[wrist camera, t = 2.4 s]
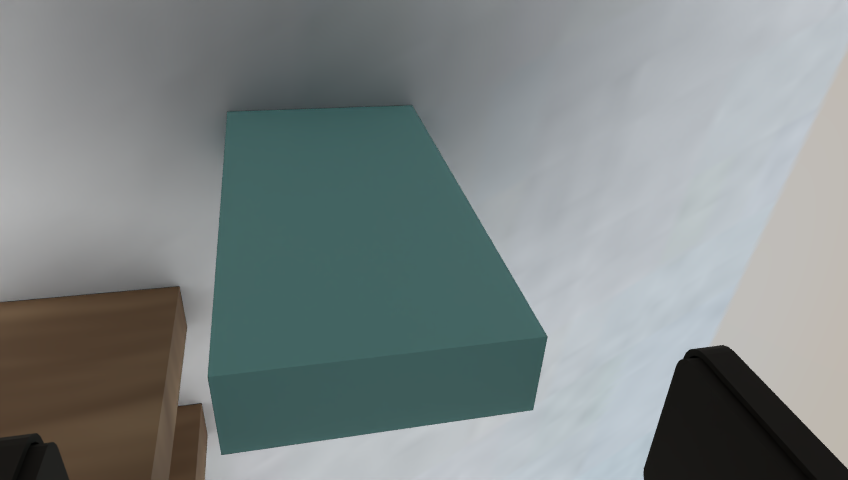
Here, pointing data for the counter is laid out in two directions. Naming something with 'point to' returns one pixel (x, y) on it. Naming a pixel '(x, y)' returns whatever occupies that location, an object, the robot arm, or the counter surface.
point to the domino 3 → (356, 285)
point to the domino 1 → (96, 379)
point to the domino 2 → (189, 444)
